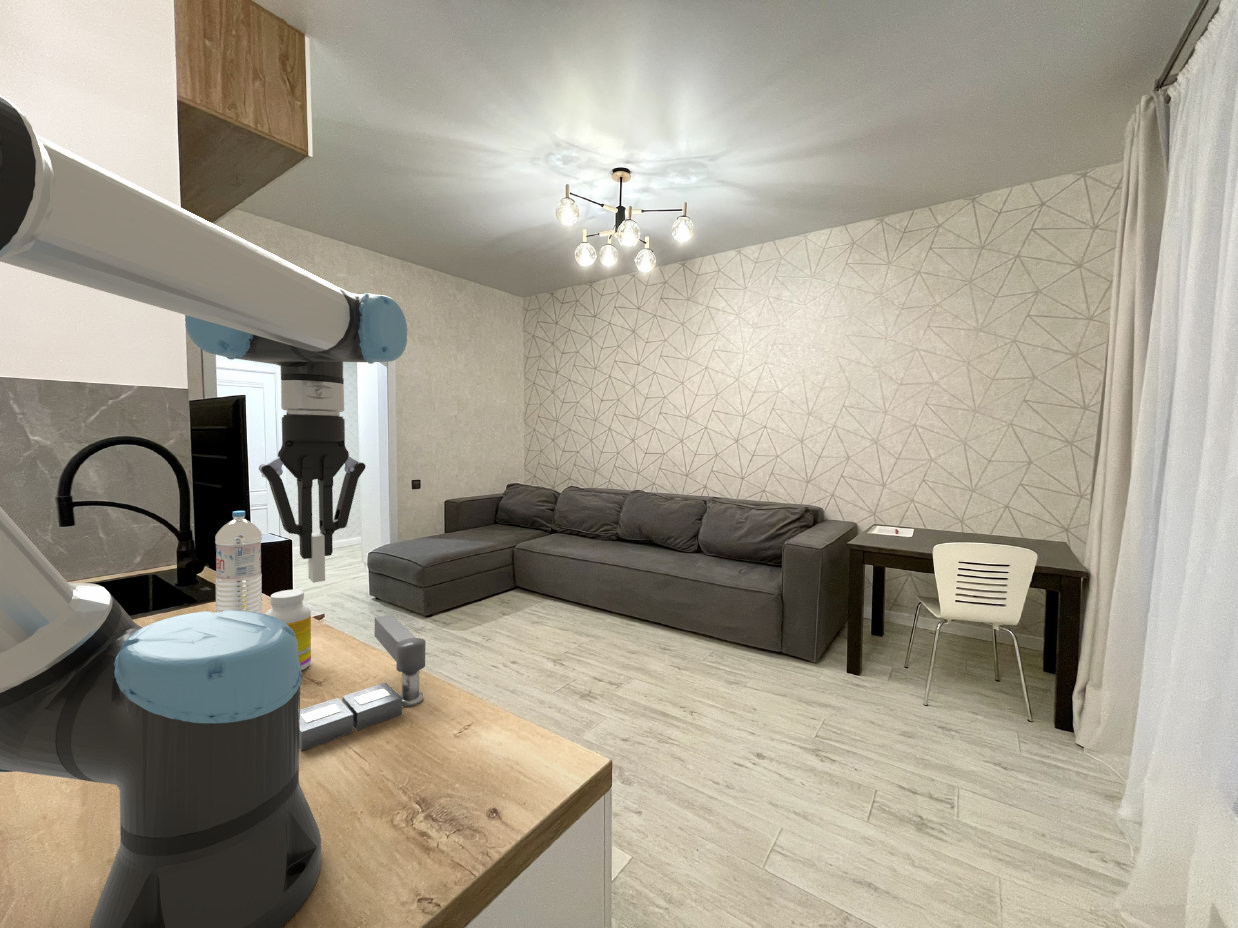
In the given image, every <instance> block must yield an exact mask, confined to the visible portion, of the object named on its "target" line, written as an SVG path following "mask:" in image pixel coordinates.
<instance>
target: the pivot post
mask: <svg viewBox="0 0 1238 928" xmlns="http://www.w3.org/2000/svg"><path fill="white" fill-rule="evenodd" d="M401 676H402V677H401V686H402V687H401V694H399V695H400V696H401V697H402V708H404V707H406V708H407V707H414V706H417V705H419V704H420V703H422V702H423V701H424V693H423V692H422V691H420V670H419V671H415V672H410V673H403V672H401Z"/></svg>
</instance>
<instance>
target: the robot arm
mask: <svg viewBox="0 0 1238 928" xmlns="http://www.w3.org/2000/svg"><path fill="white" fill-rule="evenodd" d="M0 263H4V264H8V265H11V266H15V267H17V268H22V269H25V270H28V271H32V272H35V273H39V274H41V275H46V276H48V277H52V278H56V279H60V280H63V281H67V282H68V283H69V282H71V283H73V284H77V285H80V286H84V287H87V288H90V289H94V290H98V291H101V292H105V293H108V294H111V295H115V296H119V297H122V298H125V299H129V300H132V301H136V302H139V303H143V304H146V305H148V306H149V305H150V306H153V307H157V308H160V309H164V310H167V311H170V312H174V313H177V314H180V315H183V316H185V318H184V319H185V320H184V321H185V323H184V324H185V329H186V332H187V334H188V336H189V339H190V340H191V341H192V343H194V344H195V346H196V347H197V348H199V349H200V350H202V351H204V352H205V353H209V354H211V355H215V356H221V357H223V358H224V357H225V358H227V360H231V361H232V360H235V359H236V360H243V361H249V362H250V361H251V362H255V363H264V364H271V365H276V366H280V388H281V389H280V394H281V396H280V398H281V399H280V401H281V404H280V405H281V406H280V407H281V409H282V410H283V411H286V414H283V415H282V416H281V447H280V449H279V451H278V453H277V457H276V458H274V459H273V460H271V461H269V462H267V463H262V464H260V465H259V467H258V471H259V473H261V474H262V475H263V476H264V478H265V479H266V480H267V481H268V484H269V487H270V491H271V493H272V497H273V499H274V503H275V505H276V509H277V511H278V515H279V519H280V521H281V525H282V528H283V530H284V531H286V532H287V533H288V534H291V535H293V534H294V535H297V536H298V537H299V555H300V556H301V559H303V560H307V561H308V562H307V563H308V565H307V566H308V568H307V569H308V579H309V581H310V582H312V583H313V584H315V583H321V582H326V557H329V556H332V554H333V549H334V548H333V545H334V544H333V535H334V533H335V531H339V529H345V528H347V525H348V522H349V518H350V513H351V509H352V505H353V501H354V496H355V493H356V489H357V485H358V480H359V478H360V476H361V475H362V473H364V471H365V469H366V467H367V465H366V464H365V463H364V462H361V461H358V460H356V459H354V458H352V457H351V456H350V453H349V450H347V447H346V433H345V432H346V431H345V430H346V428H345V426H346V425H345V423H346V422H345V418H344V417H343V416H341V415H340V414H341V413H343V412H344V411H345V390H344V389H345V387H344V386H345V384H344V383H345V382H344V380H345V379H344V363H367V364H370V365H372V364H374V363H387V362H390V363H391V362H394V361H396V360H398V359H399V358H400V357H401V356H402V355H403V354H404V352H405V350H406V347H407V344H408V325H407V319H406V317H405V313H404V311H403V310H402V308H401V306H400V305H399V304H398V302H397V301H396V300H395V299H393V298H392V297H390V296H388V295H384V294H372V293H370V292H369V293H368V292H365V293H364V294H363V293H362V294H359V293H352V292H349V291H347V290H345V289H343V288H341V287H339V286H337V285H334V284H333V283H330V282H329V281H327V280H325V279H322V278H320V277H318V276H317V275H315V274H312V273H311V272H309V271H307V270H305V269H304V268H303V269H302V268H301V267H298V266H297V265H295V264H293V263H291V262H290V261H287V260H286V259H283V258H281V257H279V256H278V255H275V254H274V253H271V252H269V251H267V250H265V249H263V248H262V247H259V246H257V245H255V244H253V243H252V242H249V241H247V240H245V239H244V238H241V237H239V236H238V235H236V234H234V233H232V232H230V231H228V230H225V229H224V228H222V227H220V226H217V225H216V224H214V223H212V222H210V221H207V220H205V219H204V218H202V217H200V216H198V215H196V214H194V213H192V212H190V211H188V210H186V209H184V208H182V207H180V206H178V205H176V204H174V203H172V202H170V201H168V200H166V199H164V198H162V197H161V196H158V195H156V194H154V193H152V192H151V191H148V190H147V189H144V188H142V187H141V186H138V185H137V184H135V183H132V182H130V181H128V180H126V179H124V178H122V177H120V176H119V175H116V174H114V173H112V172H111V171H108V170H107V169H105V168H102V167H100V165H96V164H95V163H92V162H91V161H89V160H87V159H86V158H85V159H84V158H83V157H81V156H79V155H77V154H75V153H73V152H71V151H69V150H67V149H65V148H63V147H61V146H60V145H57V144H55V143H53V142H51V141H49V140H47V139H45V138H43V137H41V136H40V135H37V134H36V132H35V130H34V129H33V125H32V124H31V123H30V121H29V120H28V118H27V117H26V116H25V115H24V113H23V112H22V111H21V110H20V109H19V108H18V107H17V106H16V105H15V104H14V103H13V102H11V100H9V99H7V98H5V97H4V96H2V95H0ZM283 466H284V467H285V468H286V469H287V470H288V472H290V474H291V475H292V476H293V477H294V478H296V487H297V511H298V513H297V516H298V517H297V520H298V524H297V522H296V520H295V516H294V513H293V510H292V506H291V504H290V500H289V498H288V494H287V491H286V488H285V485H284V482H283V479H282V478H281V475H283V473H284V471H283V469H282V468H283ZM343 466H344V471H345V475H344V477H343V480H342V484H341V489H340V494H339V496H338V500H337V505H336V508H335V513H334V508H333V507H334V501H333V500H334V497H333V496H334V495H333V491H334V490H333V487H334V477H335V476H336V475H337V474H338V473H339V471H341V468H342V467H343ZM315 480H317V485H318V519H319V520H318V525H319V526H318V527H319V528H318V529H319V530H320V531H319V532H313V492H312V491H313V489H312V488H313V483H314V482H313V481H315ZM302 675H303V674H302V671H301V664H300V662H299V656H298V643H297V639H296V636H295V633H294V632H293V630H292V629H291V628H290V627H289V626H288V625H287V624H286V623H285V622H283V621H281V620H279V619H277V618H275V617H273V616H270V615H266V614H265V613H256V612H250V611H240V610H225V611H223V612H218V613H216V612H212V611H211V610H205V611H204V610H203V611H196V612H191V613H189V612H188V613H183V614H179V615H178V614H177V615H174V616H171V617H166V618H162V619H160V620H157V621H154V622H152V623H149V624H147V625H145V626H140V625H139V624H137V623H136V622H135V621H134V620H133V619H132V618H131V616H130V615H129V614H128V613H127V612H126V611H125V609H124V608H123V607H122V605H121V604H120V603H119V602H118V601H117V600H116V599H115V598H114V596H113V595H112V594H111V593H110V592H109V591H108V590H107V589H106V588H105V587H104V586H101V585H100V584H96V583H89V582H68V581H67V580H66V579H65V578H64V577H63V576H62V574H61V573H60V572H59V571H58V570H57V569H56V568H55V566H54V565H53V564H52V563H51V562H50V561H49V560H48V559H47V558H46V556H45V555H44V554H43V553H42V552H41V551H40V550H39V548H38V547H37V546H36V545H35V544H34V543H33V542H32V541H31V540H30V538H29V537H28V536H27V535H26V534H25V532H24V531H23V530H22V529H21V528H20V527H19V526H18V525H17V524H16V523H15V521H14V520H13V519H12V518H11V517H10V516H9V515H8V513H7V512H6V511H5V510H4V509H3V508H2V507H1V506H0V773H12V772H15V773H16V772H17V773H18V772H19V773H24V774H34V775H41V776H50V777H55V778H56V777H57V778H64V779H71V780H72V779H73V780H80V781H86V782H92V783H99V784H100V783H101V784H102V783H103V784H107V785H108V784H109V785H114V786H116V787H117V788H118V790H119V811H120V812H119V819H120V820H119V821H120V824H119V825H120V830H119V831H120V841H119V843H120V844H119V847H118V849H117V851H116V855H115V857H114V860H113V863H112V865H111V868H110V870H109V873H108V875H107V878H106V880H105V884H104V886H103V889H102V891H101V893H100V896H99V899H98V900H97V901H98V902H97V905H96V906H95V907H96V908H95V910H94V911H93V914H92V917H91V921H90V924H89V928H282V927H284V926H285V925H286V924H287V923H288V922H289V921H290V920H291V919H292V918H293V917H294V916H295V914H296V913H297V912H298V911H299V909H301V907H302V906H303V904H304V903H306V901H307V899H308V898H309V896H310V894H311V893H312V891H313V890H314V887H315V886H316V885H317V884H316V883H317V881H318V879H319V876H320V871H321V868H322V836H321V831H320V828H319V826H318V823H317V821H316V818H315V816H314V814H313V812H312V810H311V808H310V807H311V806H310V804H309V803H308V801H307V798H306V796H305V793H304V792H303V789H302V787H301V785H300V779H299V778H300V748H299V729H300V709H301V683H302V677H303V676H302Z"/></svg>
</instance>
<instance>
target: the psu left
mask: <svg viewBox="0 0 1238 928" xmlns="http://www.w3.org/2000/svg"><path fill="white" fill-rule="evenodd" d="M339 697H340V696H339ZM339 697H336V698H332V699H329V700H326V701H323V702H320V703H317V704H312V705H310V706H307V707H305V708H300V729H299V751H301V752H304V751H306V750H310V749H312V748H314V747H317V746H318V747H319V746H320V745H323V744H326V743H328V742H332V741H334V740H336V739H339V738H343V737H344V736H347V735H348V736H349V735H350V734H353V733H354V727H353V713H352V712H351V711H350V710H349V709H348V708H347V706H346V705H345V704H344V703H343V702H342V700H341V699H340V698H339Z"/></svg>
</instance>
